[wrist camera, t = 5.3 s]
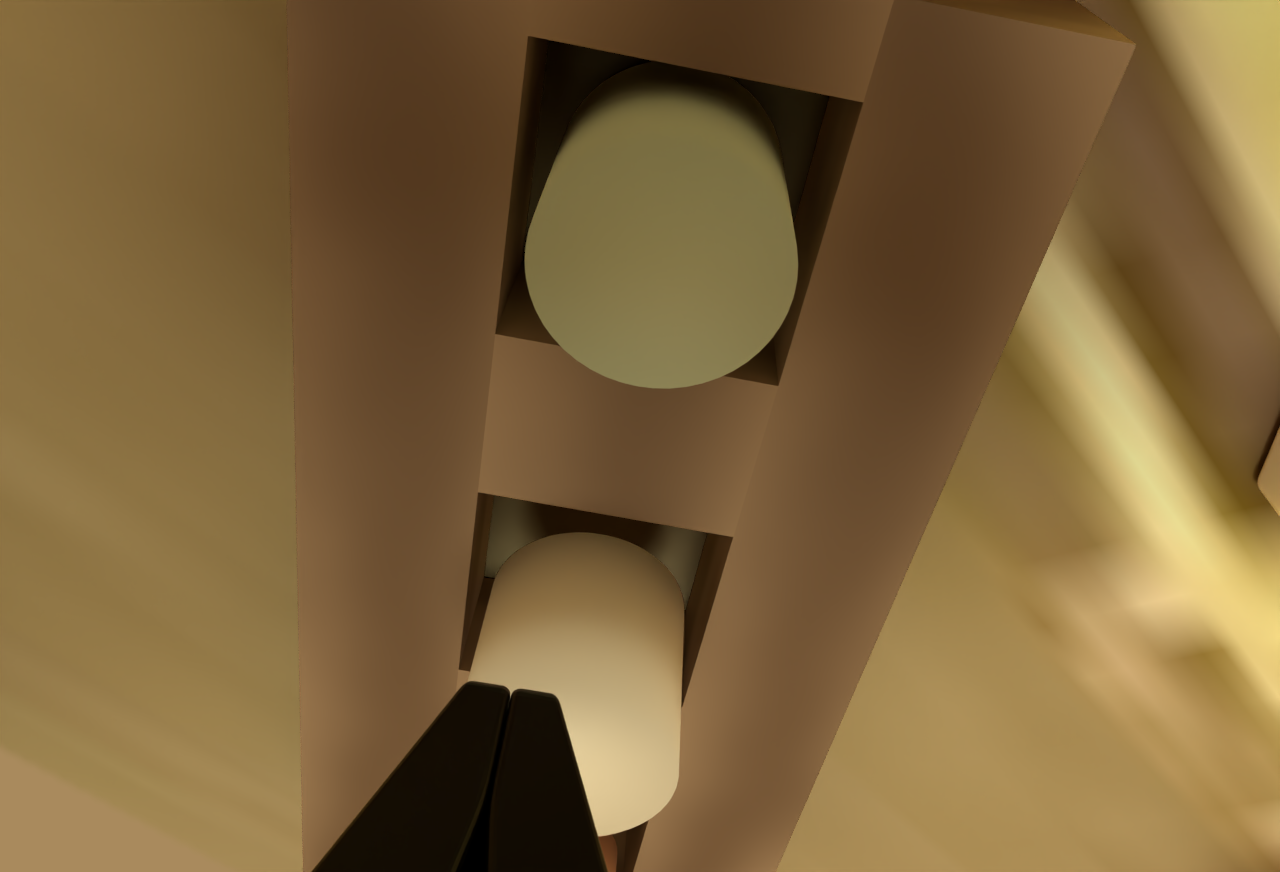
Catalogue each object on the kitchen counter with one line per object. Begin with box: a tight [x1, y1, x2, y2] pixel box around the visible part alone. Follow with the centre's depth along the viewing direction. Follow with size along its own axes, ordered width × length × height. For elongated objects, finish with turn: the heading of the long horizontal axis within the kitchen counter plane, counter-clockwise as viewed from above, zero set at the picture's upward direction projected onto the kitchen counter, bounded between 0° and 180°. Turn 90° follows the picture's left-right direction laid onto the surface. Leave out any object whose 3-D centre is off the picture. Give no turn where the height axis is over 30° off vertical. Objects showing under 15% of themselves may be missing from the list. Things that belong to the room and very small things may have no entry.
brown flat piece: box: [287, 0, 1136, 872], centre depth 22 cm, size 12×25×3 cm, turn 170°
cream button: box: [468, 532, 684, 836], centre depth 19 cm, size 4×4×4 cm
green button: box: [525, 61, 798, 389], centre depth 17 cm, size 4×4×4 cm
